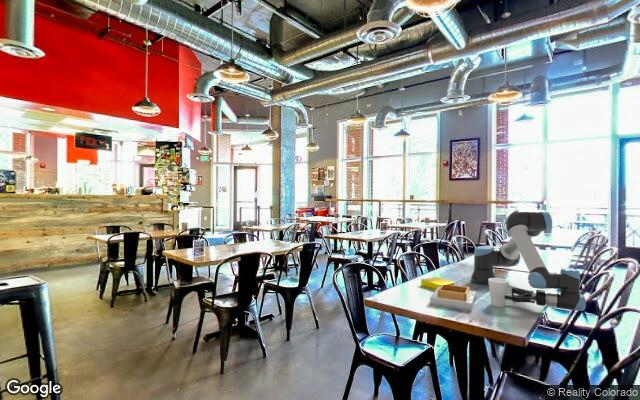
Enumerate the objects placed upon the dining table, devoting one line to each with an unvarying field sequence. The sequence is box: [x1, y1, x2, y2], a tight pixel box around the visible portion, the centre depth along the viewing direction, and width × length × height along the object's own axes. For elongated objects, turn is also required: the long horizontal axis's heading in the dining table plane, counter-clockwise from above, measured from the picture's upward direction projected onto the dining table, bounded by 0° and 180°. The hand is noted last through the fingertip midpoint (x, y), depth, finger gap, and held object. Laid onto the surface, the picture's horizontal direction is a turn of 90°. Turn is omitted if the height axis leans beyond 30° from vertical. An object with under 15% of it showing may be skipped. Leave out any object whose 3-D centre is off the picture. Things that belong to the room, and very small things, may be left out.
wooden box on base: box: [429, 284, 477, 312], centre depth 185 cm, size 24×20×7 cm
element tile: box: [420, 276, 455, 292], centre depth 214 cm, size 15×15×5 cm
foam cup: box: [487, 277, 510, 308], centre depth 180 cm, size 10×9×13 cm
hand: (497, 292), depth 180 cm, fingers open, 13 cm apart
